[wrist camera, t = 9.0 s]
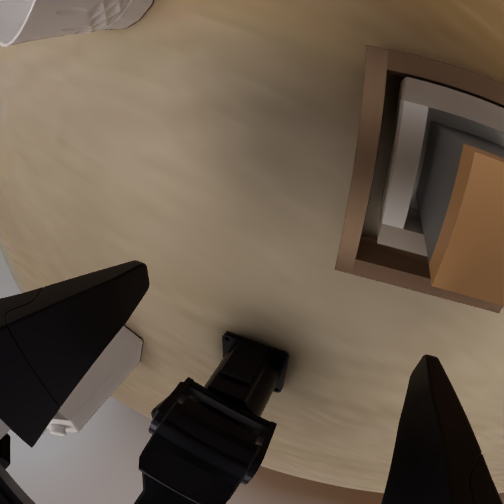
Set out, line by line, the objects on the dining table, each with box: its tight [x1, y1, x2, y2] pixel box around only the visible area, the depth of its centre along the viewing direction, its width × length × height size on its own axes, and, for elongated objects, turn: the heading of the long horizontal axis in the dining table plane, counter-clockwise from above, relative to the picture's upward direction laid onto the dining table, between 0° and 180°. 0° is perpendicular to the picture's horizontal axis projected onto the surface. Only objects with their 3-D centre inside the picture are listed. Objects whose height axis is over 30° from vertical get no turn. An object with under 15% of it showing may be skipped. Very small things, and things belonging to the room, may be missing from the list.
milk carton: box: [42, 326, 143, 436], centre depth 32 cm, size 7×7×19 cm
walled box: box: [335, 45, 504, 313], centre depth 12 cm, size 12×11×5 cm
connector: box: [416, 121, 504, 306], centre depth 9 cm, size 4×4×8 cm
